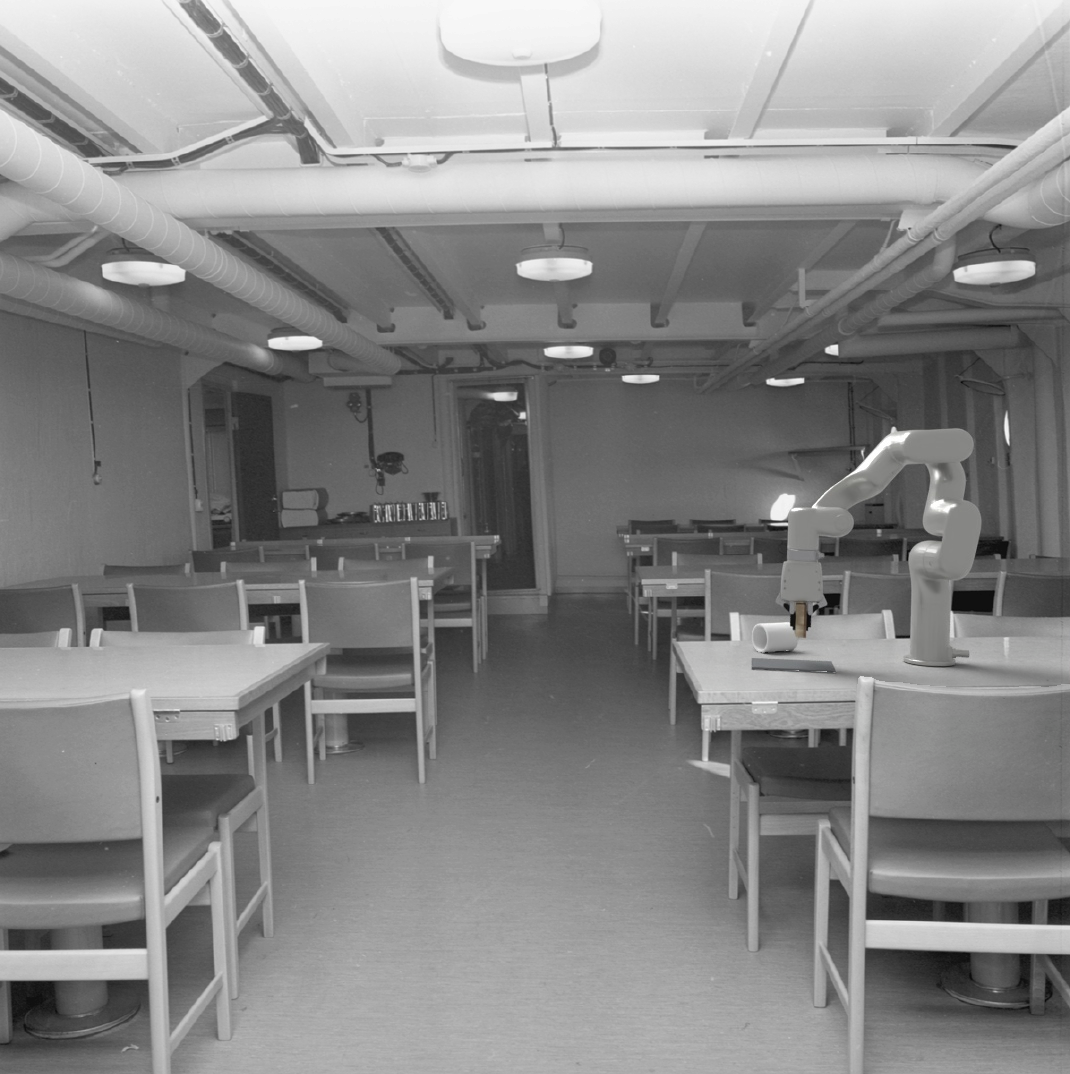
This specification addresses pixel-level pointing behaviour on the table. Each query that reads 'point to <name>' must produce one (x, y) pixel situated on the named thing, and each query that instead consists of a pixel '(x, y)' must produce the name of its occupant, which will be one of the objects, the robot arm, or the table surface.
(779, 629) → the mug
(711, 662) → the table surface
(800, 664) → the mat
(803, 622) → the tile
